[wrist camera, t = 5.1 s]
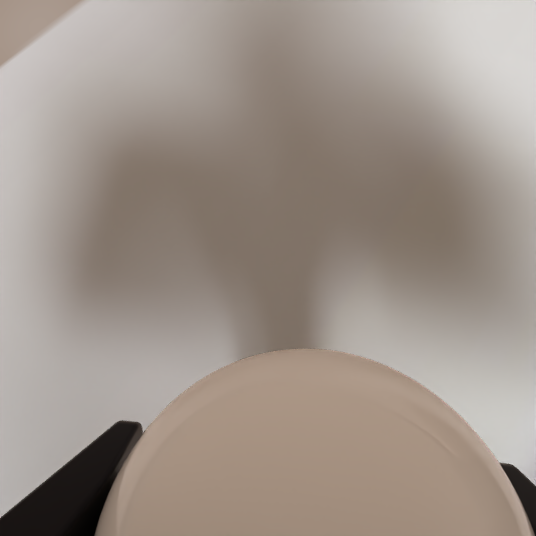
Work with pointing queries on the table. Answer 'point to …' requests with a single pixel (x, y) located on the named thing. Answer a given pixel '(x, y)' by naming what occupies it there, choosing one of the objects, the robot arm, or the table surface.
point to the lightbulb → (311, 458)
